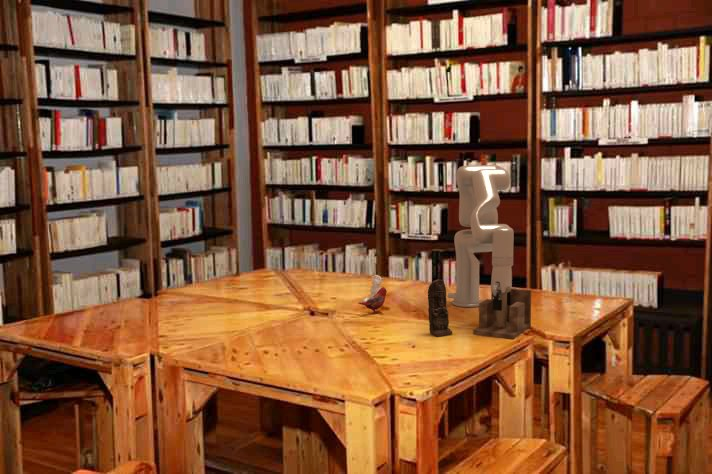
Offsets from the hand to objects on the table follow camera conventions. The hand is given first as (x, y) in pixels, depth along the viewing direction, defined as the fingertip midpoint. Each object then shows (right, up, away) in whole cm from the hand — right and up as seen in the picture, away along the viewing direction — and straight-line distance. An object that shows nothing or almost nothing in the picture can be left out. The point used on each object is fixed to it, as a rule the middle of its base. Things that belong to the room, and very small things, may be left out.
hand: (501, 307), depth 294 cm
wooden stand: (0, -9, +1) cm, 9 cm away
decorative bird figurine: (-46, -5, +29) cm, 55 cm away
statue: (-23, -10, -2) cm, 25 cm away
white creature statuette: (-45, -3, +50) cm, 67 cm away
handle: (0, -7, +1) cm, 8 cm away
